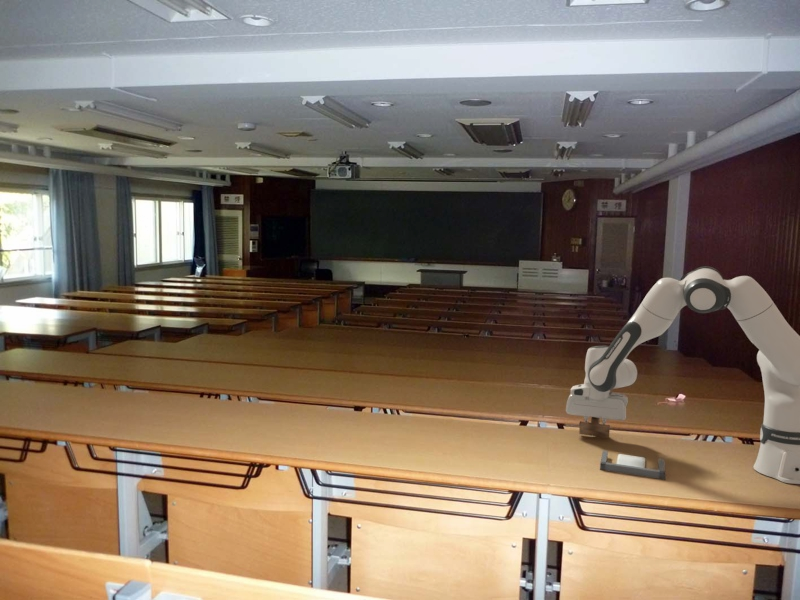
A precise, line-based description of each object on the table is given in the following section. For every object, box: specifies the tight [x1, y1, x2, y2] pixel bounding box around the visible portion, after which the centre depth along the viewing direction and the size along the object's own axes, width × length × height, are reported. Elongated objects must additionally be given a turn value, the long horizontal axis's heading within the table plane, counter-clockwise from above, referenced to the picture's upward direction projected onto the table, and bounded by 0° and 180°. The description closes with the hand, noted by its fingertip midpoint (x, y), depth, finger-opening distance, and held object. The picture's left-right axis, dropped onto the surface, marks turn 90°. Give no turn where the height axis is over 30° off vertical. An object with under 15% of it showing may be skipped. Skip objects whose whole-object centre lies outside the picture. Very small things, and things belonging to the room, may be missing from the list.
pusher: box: [578, 417, 611, 439], centre depth 218 cm, size 10×7×5 cm
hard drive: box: [615, 453, 646, 468], centre depth 190 cm, size 2×8×12 cm
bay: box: [599, 450, 666, 480], centre depth 187 cm, size 18×12×2 cm
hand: (594, 429), depth 217 cm, fingers closed on pusher, 2 cm apart
